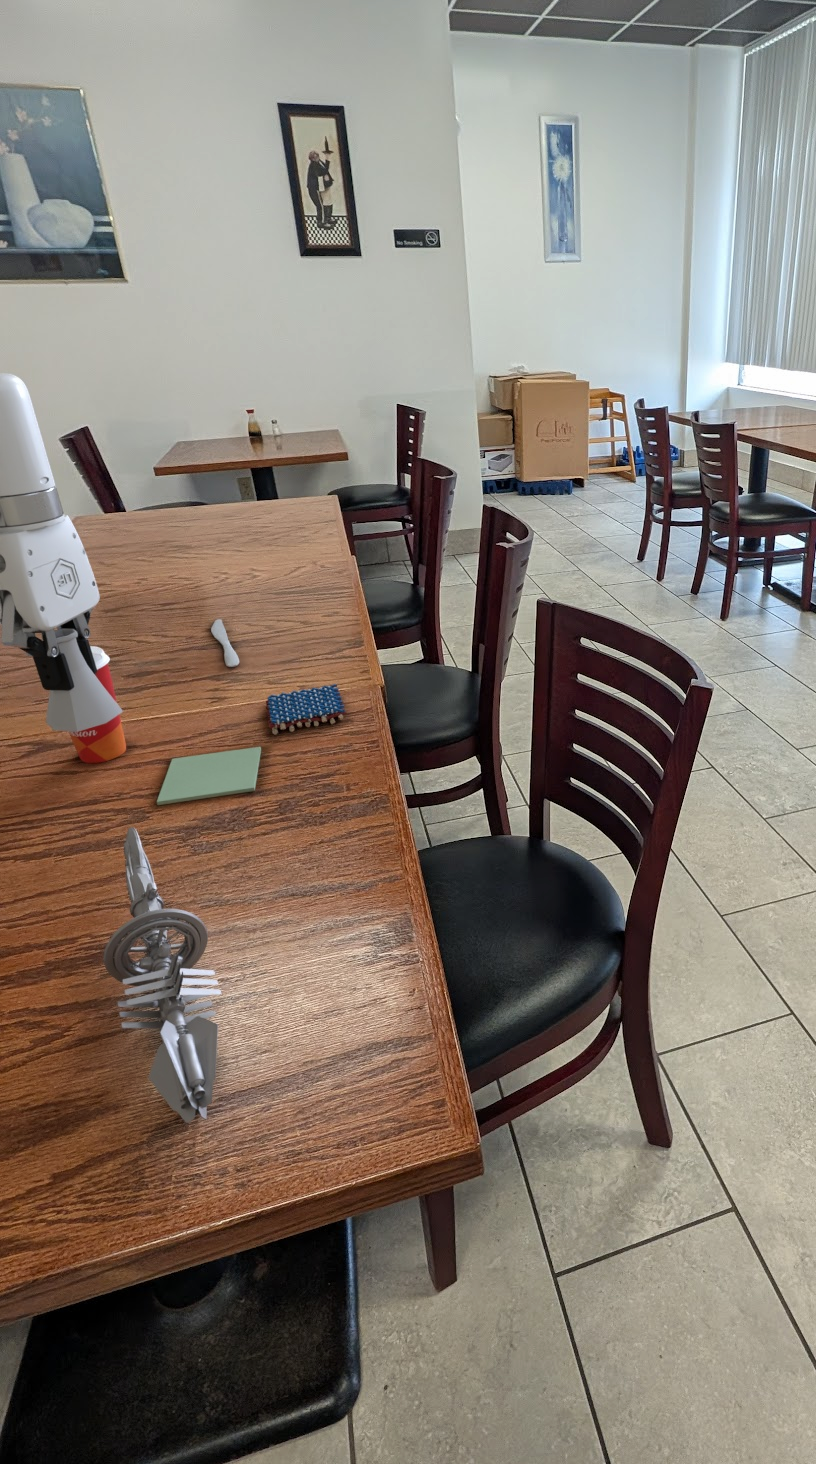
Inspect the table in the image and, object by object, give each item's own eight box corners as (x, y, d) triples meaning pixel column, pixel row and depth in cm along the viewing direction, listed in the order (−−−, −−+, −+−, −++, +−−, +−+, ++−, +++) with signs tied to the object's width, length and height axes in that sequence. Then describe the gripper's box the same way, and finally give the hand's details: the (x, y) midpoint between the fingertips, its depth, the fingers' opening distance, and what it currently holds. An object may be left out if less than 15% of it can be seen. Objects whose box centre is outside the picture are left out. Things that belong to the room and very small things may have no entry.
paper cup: (63, 754, 109) (30, 656, 103) (123, 734, 114) (95, 640, 108) (82, 773, 104) (49, 672, 98) (144, 752, 109) (116, 654, 103)
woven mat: (265, 706, 121) (263, 694, 120) (338, 693, 124) (336, 681, 123) (269, 736, 112) (266, 723, 111) (348, 721, 115) (346, 708, 115)
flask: (136, 712, 91) (112, 627, 87) (75, 739, 86) (46, 650, 81) (95, 700, 94) (70, 618, 90) (33, 726, 89) (3, 639, 84)
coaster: (157, 805, 97) (156, 801, 97) (173, 761, 106) (172, 758, 106) (254, 791, 99) (254, 787, 99) (261, 749, 109) (260, 746, 108)
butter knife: (221, 667, 134) (240, 662, 135) (208, 621, 156) (224, 617, 157) (222, 670, 134) (241, 665, 135) (209, 624, 156) (225, 620, 157)
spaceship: (178, 797, 83) (89, 795, 78) (270, 1059, 57) (147, 1080, 53) (163, 863, 85) (75, 865, 80) (245, 1141, 60) (124, 1169, 55)
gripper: (-8, 529, 72) (54, 716, 80) (104, 492, 87) (146, 653, 95) (-86, 529, 73) (-17, 714, 81) (38, 493, 88) (86, 652, 96)
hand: (71, 680), depth 88 cm, fingers closed on flask, 3 cm apart
